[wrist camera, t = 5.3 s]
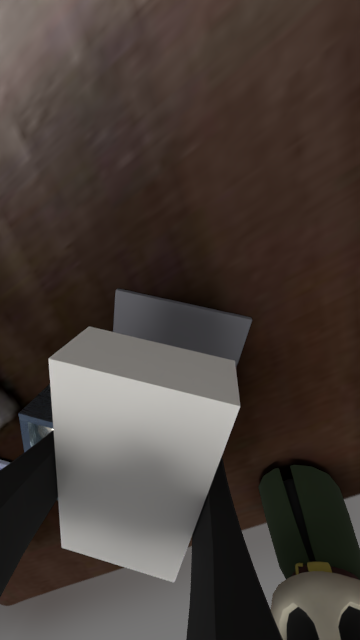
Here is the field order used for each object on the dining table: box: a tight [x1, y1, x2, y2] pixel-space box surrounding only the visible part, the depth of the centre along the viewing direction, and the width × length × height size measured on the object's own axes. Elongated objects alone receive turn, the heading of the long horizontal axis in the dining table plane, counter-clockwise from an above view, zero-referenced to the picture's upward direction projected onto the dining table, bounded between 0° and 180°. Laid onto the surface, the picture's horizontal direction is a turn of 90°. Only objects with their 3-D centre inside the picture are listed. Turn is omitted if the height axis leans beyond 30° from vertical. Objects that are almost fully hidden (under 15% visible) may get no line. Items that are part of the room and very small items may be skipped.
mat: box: [113, 288, 252, 367], centre depth 17 cm, size 9×9×1 cm
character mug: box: [259, 465, 360, 640], centre depth 14 cm, size 11×7×13 cm, turn 119°
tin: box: [19, 384, 58, 500], centre depth 19 cm, size 9×4×4 cm, turn 170°
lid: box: [48, 327, 240, 582], centre depth 9 cm, size 11×5×2 cm, turn 170°
